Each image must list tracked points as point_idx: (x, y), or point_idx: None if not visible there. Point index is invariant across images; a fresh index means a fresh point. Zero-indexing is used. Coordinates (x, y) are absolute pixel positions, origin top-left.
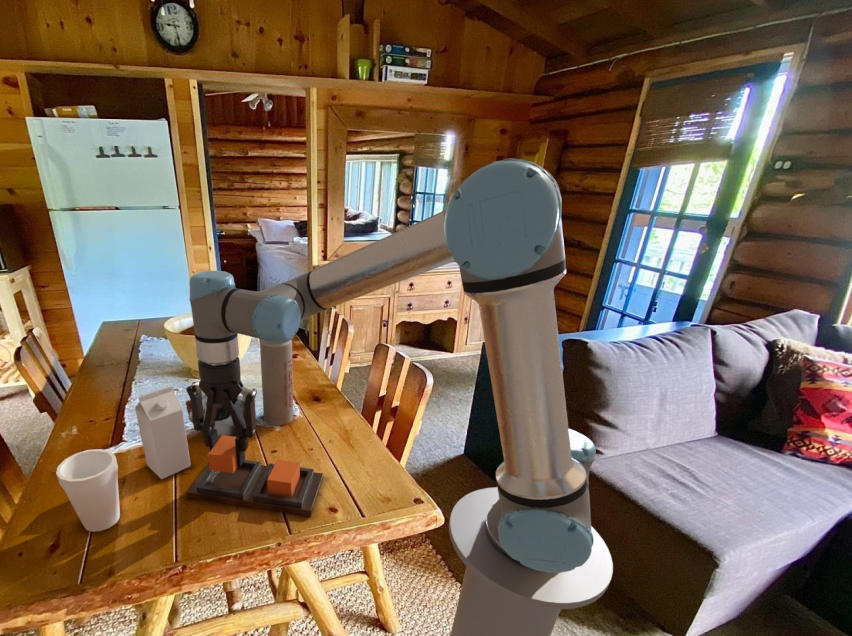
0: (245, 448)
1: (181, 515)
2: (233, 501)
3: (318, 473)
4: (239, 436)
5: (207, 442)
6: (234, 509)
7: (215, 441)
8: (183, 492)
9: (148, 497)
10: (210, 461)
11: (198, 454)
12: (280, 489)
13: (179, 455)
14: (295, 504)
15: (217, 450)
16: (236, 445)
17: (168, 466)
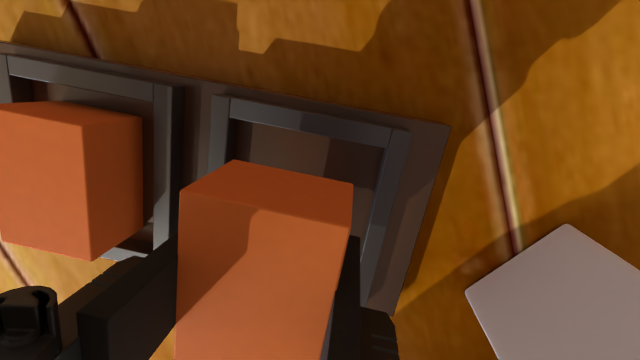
0: (111, 268)
1: (448, 22)
2: (261, 89)
3: None
4: (34, 343)
5: (377, 337)
6: (259, 67)
7: (324, 345)
8: (465, 154)
9: (603, 123)
10: (343, 201)
11: (447, 347)
12: (65, 110)
13: (527, 317)
14: (23, 56)
15: (295, 262)
16: (139, 280)
17: (560, 266)
